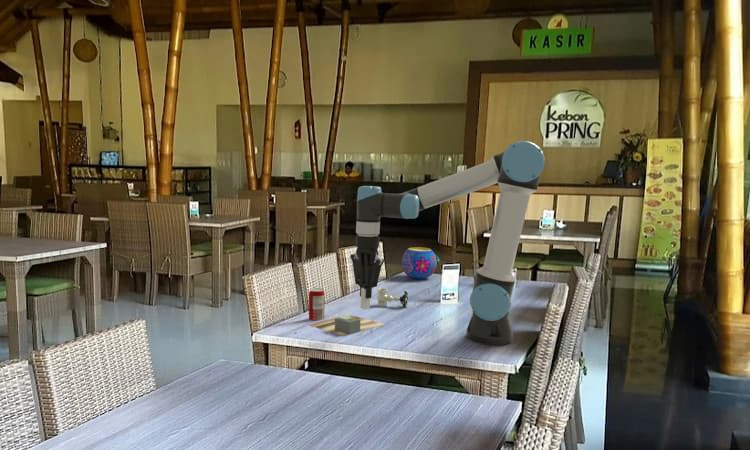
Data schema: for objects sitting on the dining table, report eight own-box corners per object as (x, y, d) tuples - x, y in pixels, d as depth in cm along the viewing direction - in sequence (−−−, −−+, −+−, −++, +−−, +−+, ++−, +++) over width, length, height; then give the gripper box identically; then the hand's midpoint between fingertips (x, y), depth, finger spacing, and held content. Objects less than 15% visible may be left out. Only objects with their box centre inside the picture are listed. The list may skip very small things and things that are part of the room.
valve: (375, 307, 227) (404, 309, 224) (375, 290, 227) (405, 293, 224) (379, 303, 234) (407, 305, 231) (379, 287, 233) (408, 289, 230)
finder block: (360, 331, 189) (360, 318, 189) (349, 334, 186) (349, 321, 185) (345, 327, 194) (345, 314, 194) (334, 329, 190) (334, 317, 190)
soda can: (315, 318, 208) (315, 286, 207) (327, 321, 205) (327, 288, 204) (305, 322, 203) (305, 289, 202) (318, 324, 201) (318, 291, 199)
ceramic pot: (443, 280, 284) (444, 250, 283) (413, 283, 275) (414, 252, 274) (423, 273, 299) (424, 245, 298) (394, 276, 290) (395, 247, 289)
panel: (385, 327, 199) (385, 324, 198) (343, 339, 184) (343, 336, 184) (348, 317, 211) (348, 314, 211) (307, 328, 196) (307, 324, 196)
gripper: (391, 236, 179) (388, 309, 182) (361, 231, 188) (358, 302, 190) (374, 238, 174) (372, 313, 176) (344, 233, 182) (342, 305, 185)
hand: (365, 307), depth 183 cm, fingers closed
